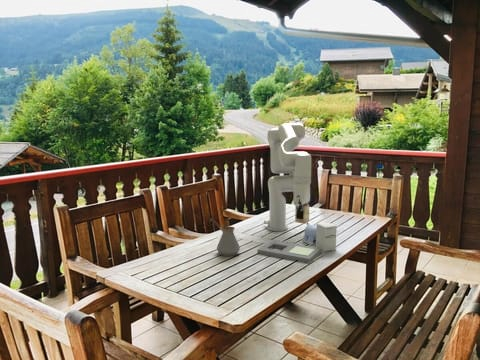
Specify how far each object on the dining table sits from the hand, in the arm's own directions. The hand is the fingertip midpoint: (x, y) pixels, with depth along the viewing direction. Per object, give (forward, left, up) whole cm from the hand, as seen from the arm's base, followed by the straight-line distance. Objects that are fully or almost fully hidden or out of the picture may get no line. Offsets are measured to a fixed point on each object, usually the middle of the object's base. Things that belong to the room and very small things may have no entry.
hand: (302, 217), depth 197 cm
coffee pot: (-37, -13, -19) cm, 44 cm away
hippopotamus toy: (-2, +23, -19) cm, 30 cm away
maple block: (0, 0, -2) cm, 2 cm away
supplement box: (+7, +15, -19) cm, 25 cm away
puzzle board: (-7, 0, -19) cm, 20 cm away
